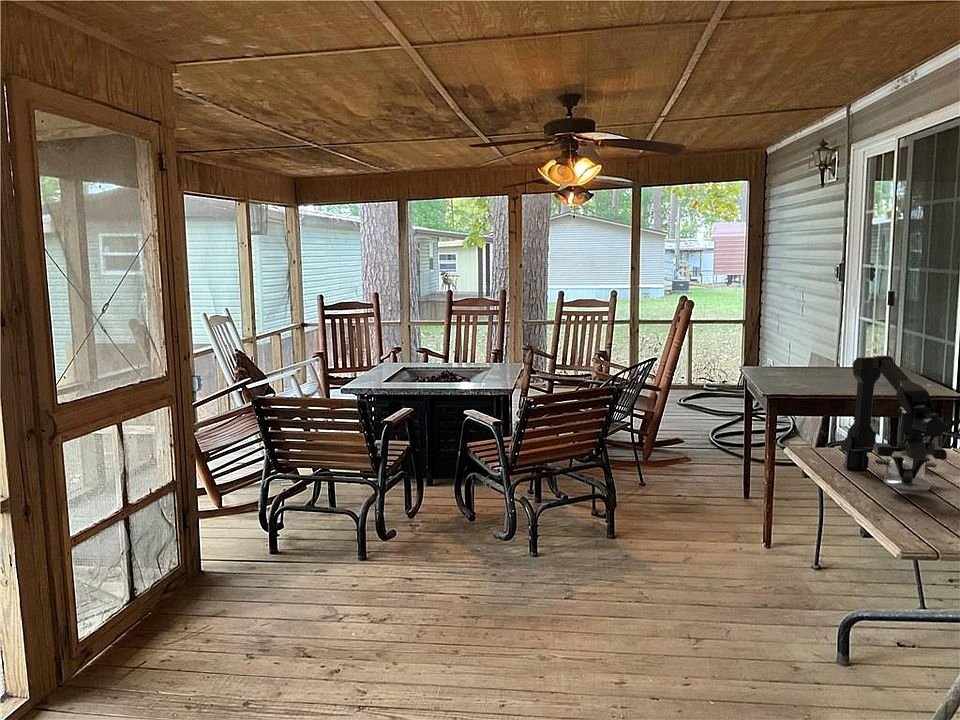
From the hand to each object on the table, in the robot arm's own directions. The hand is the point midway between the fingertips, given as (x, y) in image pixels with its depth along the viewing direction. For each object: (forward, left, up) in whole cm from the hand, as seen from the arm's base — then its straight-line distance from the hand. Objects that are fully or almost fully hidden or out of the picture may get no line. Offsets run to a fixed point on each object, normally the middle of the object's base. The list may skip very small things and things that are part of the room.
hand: (907, 477), depth 215 cm
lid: (0, 0, -2) cm, 2 cm away
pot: (+4, +15, -6) cm, 17 cm away
